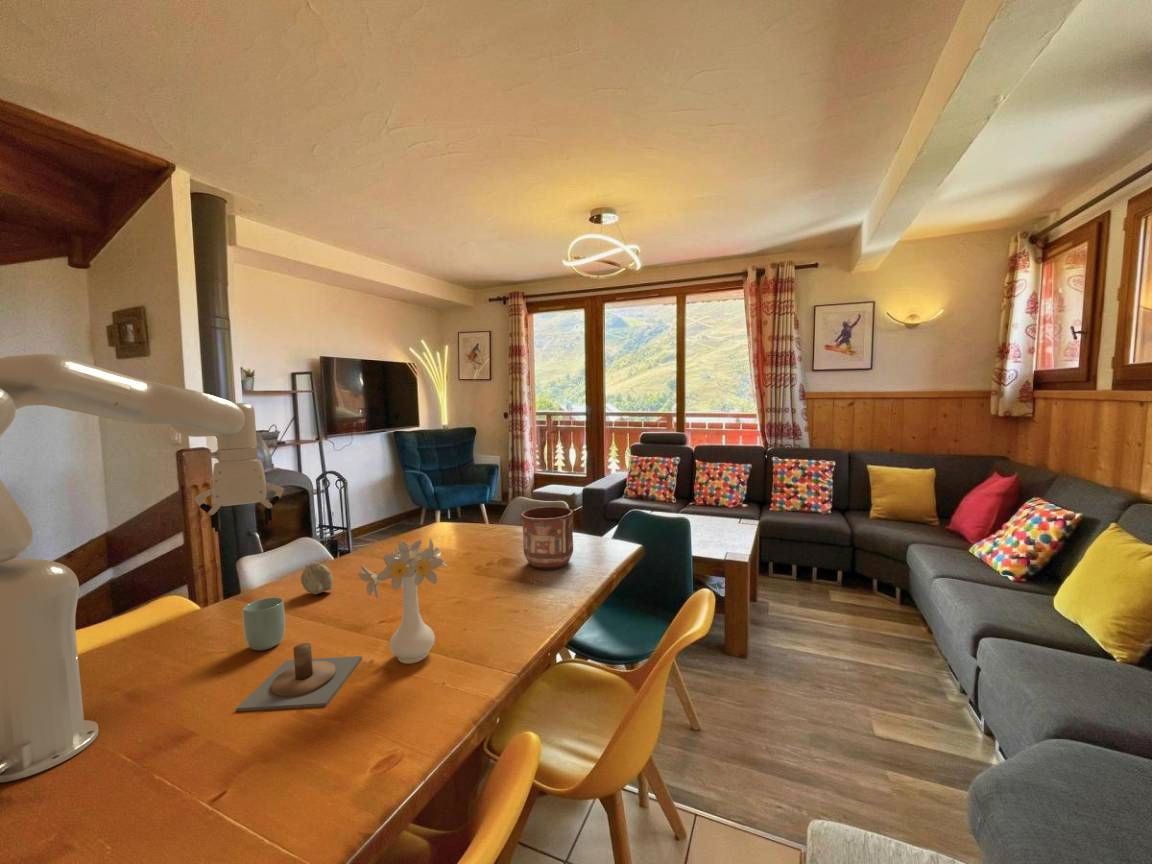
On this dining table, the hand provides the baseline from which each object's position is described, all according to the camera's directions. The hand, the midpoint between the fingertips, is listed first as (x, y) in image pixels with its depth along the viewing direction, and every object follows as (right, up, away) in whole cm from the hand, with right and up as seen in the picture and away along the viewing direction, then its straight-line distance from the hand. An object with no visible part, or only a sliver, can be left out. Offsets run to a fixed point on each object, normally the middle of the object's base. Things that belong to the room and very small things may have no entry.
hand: (243, 527), depth 111 cm
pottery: (+70, -22, +47) cm, 87 cm away
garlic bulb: (+3, -26, +27) cm, 37 cm away
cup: (+7, -27, -3) cm, 28 cm away
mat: (+25, -27, -18) cm, 41 cm away
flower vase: (+44, -27, -10) cm, 52 cm away
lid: (+25, -27, -18) cm, 41 cm away
